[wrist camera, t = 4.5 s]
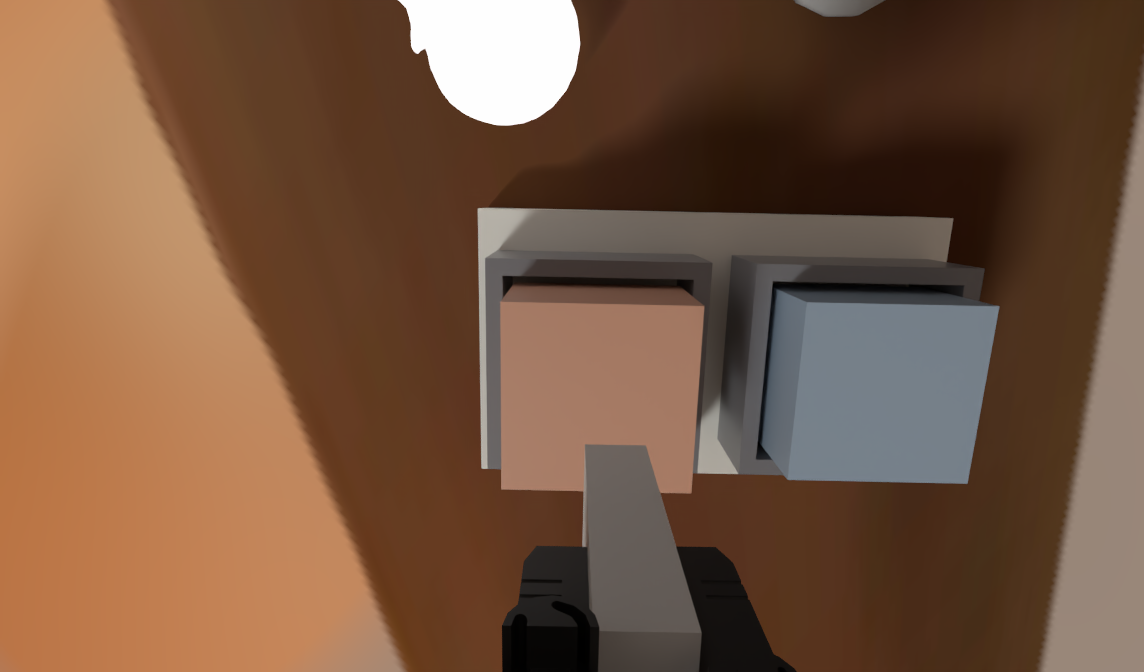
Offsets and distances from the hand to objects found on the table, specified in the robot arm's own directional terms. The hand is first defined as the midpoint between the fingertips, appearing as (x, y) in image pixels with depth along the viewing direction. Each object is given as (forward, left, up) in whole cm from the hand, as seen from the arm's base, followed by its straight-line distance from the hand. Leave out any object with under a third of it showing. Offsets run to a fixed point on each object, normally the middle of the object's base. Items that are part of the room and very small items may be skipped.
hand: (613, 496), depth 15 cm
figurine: (-14, -5, -18) cm, 23 cm away
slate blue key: (0, +11, -13) cm, 17 cm away
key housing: (0, +5, -18) cm, 18 cm away
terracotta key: (0, 0, -12) cm, 12 cm away
